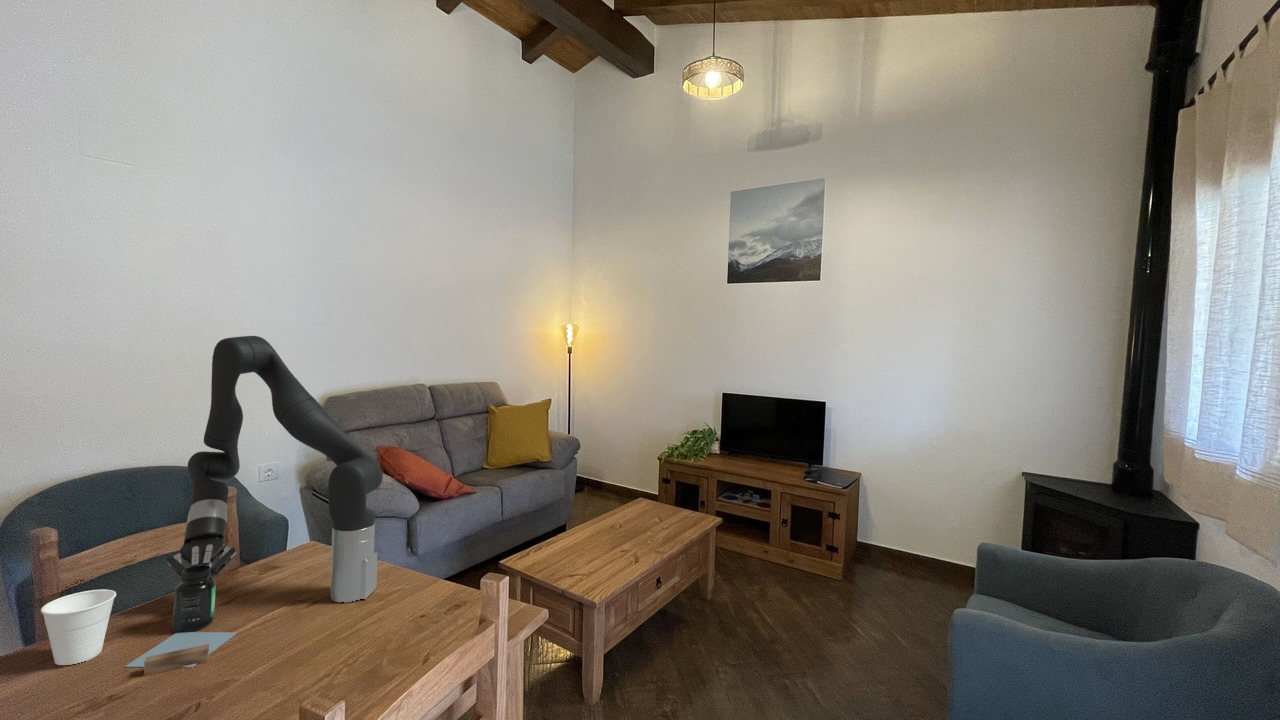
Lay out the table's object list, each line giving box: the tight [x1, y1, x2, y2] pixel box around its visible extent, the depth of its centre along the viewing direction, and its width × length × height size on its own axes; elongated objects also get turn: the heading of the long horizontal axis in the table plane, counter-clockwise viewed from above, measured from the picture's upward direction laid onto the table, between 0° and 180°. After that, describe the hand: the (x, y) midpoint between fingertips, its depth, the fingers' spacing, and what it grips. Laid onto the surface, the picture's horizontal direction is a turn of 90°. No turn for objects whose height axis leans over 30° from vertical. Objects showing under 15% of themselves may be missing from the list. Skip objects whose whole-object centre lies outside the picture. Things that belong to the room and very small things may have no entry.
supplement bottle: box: [172, 564, 217, 633], centre depth 114 cm, size 7×7×12 cm
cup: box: [40, 588, 117, 666], centre depth 101 cm, size 10×10×11 cm
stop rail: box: [143, 644, 210, 677], centre depth 99 cm, size 9×2×2 cm, turn 123°
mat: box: [124, 631, 238, 669], centre depth 105 cm, size 12×12×1 cm
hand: (197, 594), depth 117 cm, fingers closed
